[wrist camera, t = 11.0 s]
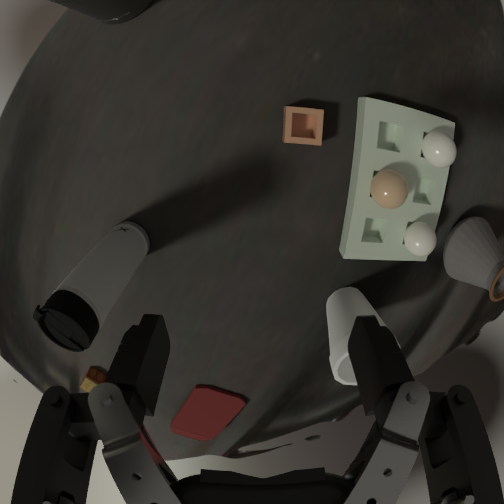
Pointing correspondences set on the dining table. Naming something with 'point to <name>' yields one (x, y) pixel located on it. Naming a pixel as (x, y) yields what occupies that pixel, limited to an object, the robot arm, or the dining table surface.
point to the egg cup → (302, 125)
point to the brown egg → (389, 189)
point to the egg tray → (401, 160)
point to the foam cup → (345, 329)
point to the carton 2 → (206, 412)
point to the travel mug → (93, 288)
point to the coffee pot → (475, 256)
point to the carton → (92, 379)
